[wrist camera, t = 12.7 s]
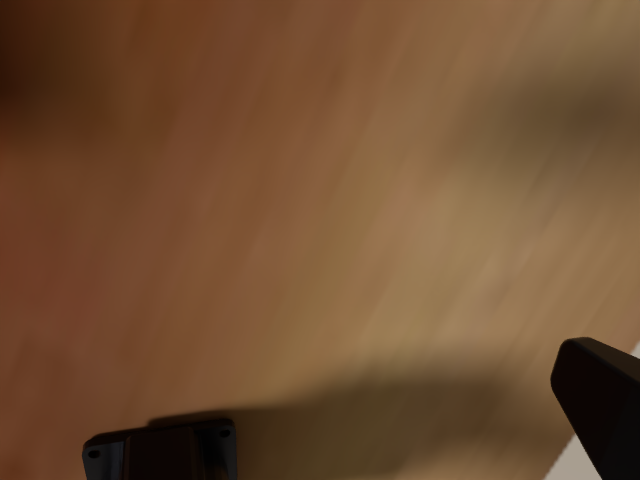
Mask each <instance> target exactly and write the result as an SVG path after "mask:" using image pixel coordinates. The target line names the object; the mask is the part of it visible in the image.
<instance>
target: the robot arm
mask: <svg viewBox="0 0 640 480" xmlns="http://www.w3.org/2000/svg"><path fill="white" fill-rule="evenodd" d="M550 382H551V387H552V390H553V392H554V394H555V396H556V398H557V400H558V402H559V403H560V405H561V407H562V409H563V411H564V413H565V414H566V416H567V418H568V420H569V422H570V424H571V425H572V427H573V429H574V431H575V433H576V435H577V436H578V438H579V440H580V442H581V444H582V446H583V447H584V449H585V451H586V452H587V454H588V456H589V458H590V460H591V462H592V463H593V465H594V467H595V468H596V471H597V472H598V474H599V475H600V477H601V478H602V480H640V359H638V358H636V357H634V356H632V355H629V354H627V353H625V352H622V351H620V350H618V349H615V348H613V347H611V346H609V345H606V344H604V343H602V342H599V341H597V340H595V339H592V338H589V337H579V338H571V339H567V340H565V341H564V342H563V343H562V344H561V346H560V348H559V351H558V355H557V358H556V361H555V364H554V367H553V370H552V373H551V378H550ZM224 429H227V430H225V431H222V430H224ZM92 450H97V451H92ZM82 459H83V463H84V468H85V473H86V477H87V480H237V457H236V429H235V424H234V422H233V421H232V420H230V419H219V420H213V421H206V422H200V423H193V424H186V425H180V426H173V427H167V428H160V429H154V430H147V431H140V432H134V433H127V434H121V435H114V436H108V437H101V438H94V439H91V440H88V441H87V442H85V444H84V445H83V451H82Z"/></svg>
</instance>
